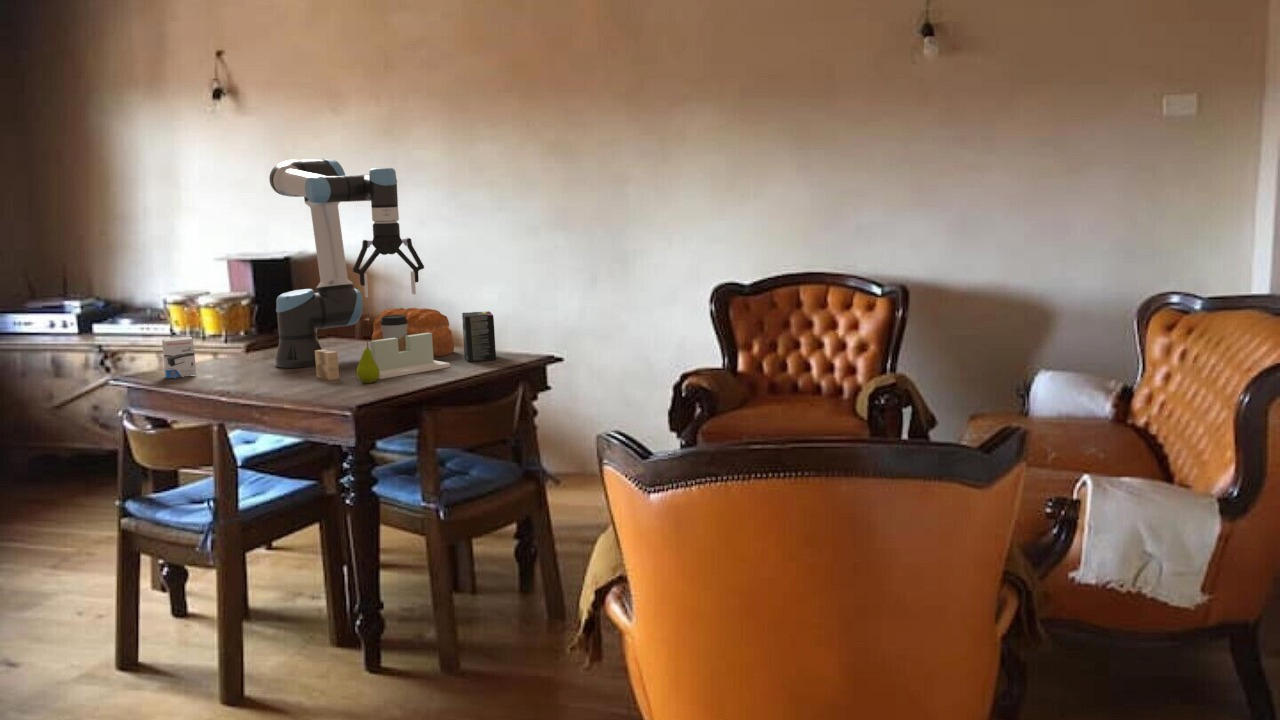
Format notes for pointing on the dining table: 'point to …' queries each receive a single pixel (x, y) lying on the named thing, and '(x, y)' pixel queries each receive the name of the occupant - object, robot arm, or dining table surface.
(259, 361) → the dining table surface
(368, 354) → the fruit
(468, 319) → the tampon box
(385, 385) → the dining table surface
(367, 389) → the dining table surface
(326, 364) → the wooden block
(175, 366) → the ink box
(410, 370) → the slotted board
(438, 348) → the bread
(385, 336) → the coffee cup
